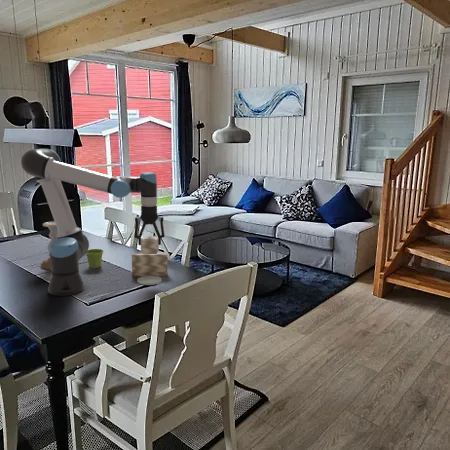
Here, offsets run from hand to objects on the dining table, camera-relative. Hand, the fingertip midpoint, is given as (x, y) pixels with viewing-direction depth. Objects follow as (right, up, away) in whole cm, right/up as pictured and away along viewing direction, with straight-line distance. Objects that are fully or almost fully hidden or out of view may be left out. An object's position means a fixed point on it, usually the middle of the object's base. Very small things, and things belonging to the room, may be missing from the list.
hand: (149, 251), depth 194 cm
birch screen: (-2, -13, +12) cm, 18 cm away
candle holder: (-54, -10, +20) cm, 59 cm away
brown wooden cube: (0, 0, 0) cm, 0 cm away
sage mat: (-1, -15, +3) cm, 15 cm away
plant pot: (-34, -10, +22) cm, 41 cm away
